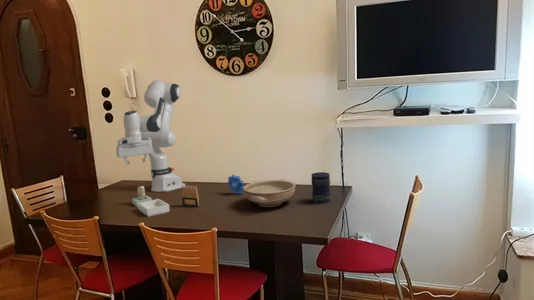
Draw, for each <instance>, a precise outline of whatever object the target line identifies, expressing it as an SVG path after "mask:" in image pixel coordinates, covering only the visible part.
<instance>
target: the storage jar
mask: <svg viewBox="0 0 534 300" xmlns="http://www.w3.org/2000/svg"><path fill="white" fill-rule="evenodd" d="M330 185H331V177H330V172H324V171H323V172H314V173H311V186H312V192H311V194H312V203H314V204H317V205H325V204H329V203H330V202H331V201H332V200H331V198H332V197H331V194H332V193H331V188H330V187H331V186H330Z"/></svg>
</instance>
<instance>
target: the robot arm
mask: <svg viewBox="0 0 534 300" xmlns="http://www.w3.org/2000/svg"><path fill="white" fill-rule="evenodd" d="M181 89H182V88H181V87H180V85H179V84H177V83H169V82H163V81H162V80H160V79H155V80H153V81H152V82H151V83H150V84H148V86H147V88H146V91H144V95H143V100H144V102H145V103H146V105H147V106H149V107H150V108H154V113H152V114H149V115H141V114H139V112H138V111H137V110H129V111H126V112H124V114H123V128H124V133H125V134H124V137H121V138H120V139H117V141H116V142H117V145H116V147H115V148H116V154H115V155H116V157H118V158H122V159H123V160H124V162H125V163H126V165H130V160H127V159H128V157H134V156H141V155H142V156H144V157H143V158H142V163H146V162H147V158H148V157H149V160H150V161H149V162H150V175H151V179H152V181H151V190H150V191H151V192H157V193H158V192H160V193H161V192H164V193H165V192H171V191H174V190H179V189H182V185H183V186H184V188H185V185H186V183H185V182H183V181H182V178H181V176H179V175H178V174H176V173H174V170H175V167H170V166H169V159H168V158H169V157H168V154H166V153H164V152H163V151H162V150H161V148H169V147H173V146H174V145H175V144H176V141H177V137H176V134H175V133H174V131H172V129H171V123H172V117H173V113H174V103H176V102H177V101H178V99H179V98H180V97H181V92H182V91H181ZM186 186H187V185H186Z"/></svg>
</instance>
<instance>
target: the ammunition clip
mask: <svg viewBox="0 0 534 300" xmlns="http://www.w3.org/2000/svg"><path fill="white" fill-rule="evenodd" d="M181 191H182V192H181V194H182V196H181V200H182V201H181V202H182V207H190V208H191V207H192V208H199V207H201V202H200V197H199V192H198V186H197V185H195V186H194V185H185V187H184V186H183V185H182V188H181Z"/></svg>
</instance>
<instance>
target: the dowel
mask: <svg viewBox="0 0 534 300" xmlns="http://www.w3.org/2000/svg"><path fill="white" fill-rule="evenodd" d="M136 189H137V197H138V200H143V199H146V198H145V196H146V193H145V186H144V185H139V186H137V187H136Z"/></svg>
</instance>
